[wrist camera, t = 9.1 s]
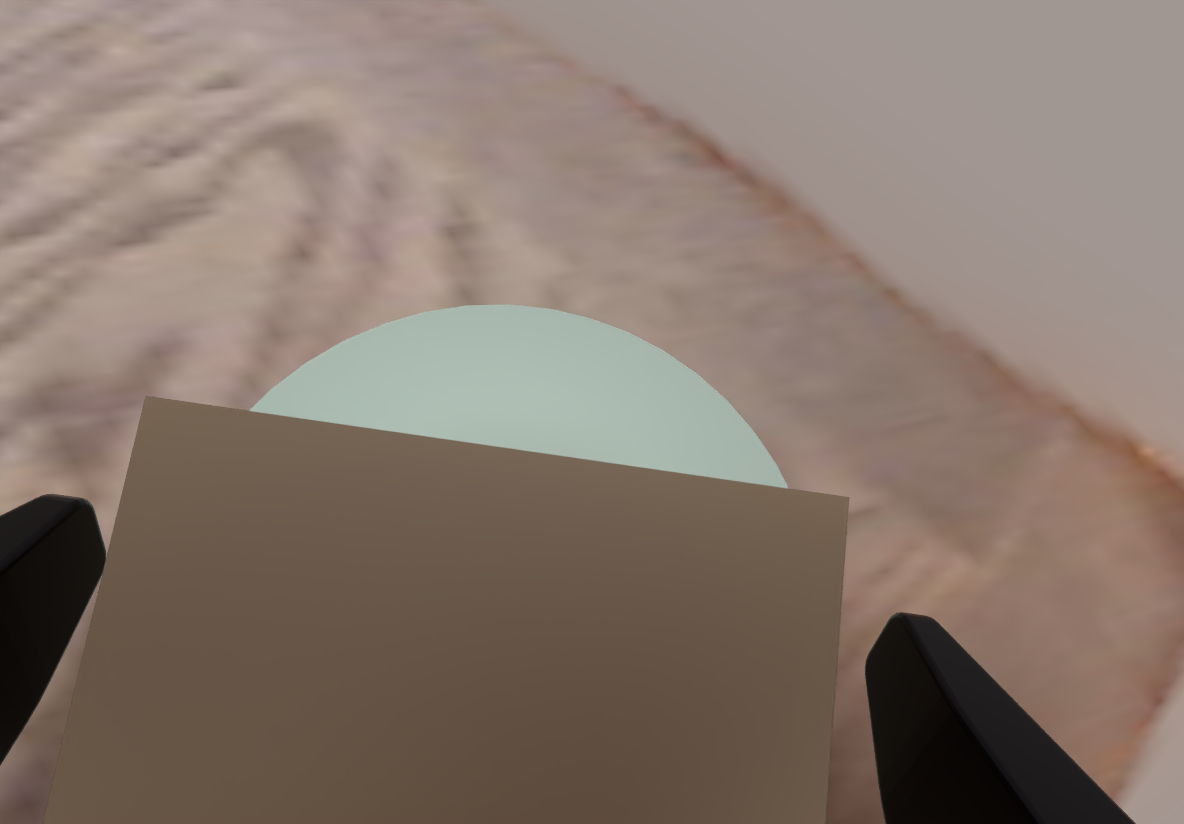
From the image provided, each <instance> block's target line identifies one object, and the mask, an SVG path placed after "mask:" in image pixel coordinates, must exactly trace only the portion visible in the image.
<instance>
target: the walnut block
mask: <svg viewBox="0 0 1184 824" xmlns="http://www.w3.org/2000/svg"><path fill="white" fill-rule="evenodd" d="M848 508H849V497H844V496H837V495H830V494H823V493H816V492H809V491H802V490H795V489H788V488H781V487H774V486H767V485H760V484H753V483H746V482H740V481H733V480H726V479H719V478H712V477H705V476H698V475H691V474H684V473H677V472H670V471H663V470H656V469H649V468H642V467H635V466H628V465H621V464H615V463H608V462H601V461H594V460H587V459H580V458H573V457H566V456H559V455H552V454H545V453H538V452H531V451H524V450H517V449H510V448H503V447H496V446H490V445H483V444H476V443H469V442H462V441H455V440H448V439H441V438H434V437H427V436H420V435H413V434H406V433H399V432H392V431H385V430H378V429H371V428H365V427H358V426H351V425H344V424H337V423H330V422H323V421H316V420H309V419H302V418H295V417H288V416H281V415H274V414H267V413H260V412H253V411H246V410H240V409H233V408H226V407H219V406H212V405H205V404H198V403H191V402H184V401H177V400H170V399H163V398H156V397H149V396H145V401H144V405H143V409H142V413H141V417H140V421H139V425H138V430H137V434H136V438H135V442H134V446H133V450H132V454H131V458H130V463H129V467H128V471H127V475H126V479H125V483H124V487H123V492H122V496H121V500H120V504H119V508H118V512H117V516H116V520H115V525H114V529H113V533H112V537H111V541H110V545H109V549H108V554H107V558H106V562H105V566H104V570H103V574H102V578H101V582H100V587H99V591H98V595H97V599H96V603H95V607H94V611H93V616H92V620H91V624H90V628H89V632H88V636H87V640H86V644H85V649H84V653H83V657H82V661H81V665H80V669H79V673H78V678H77V682H76V686H75V690H74V694H73V698H72V702H71V706H70V711H69V715H68V719H67V723H66V727H65V731H64V735H63V740H62V744H61V748H60V752H59V756H58V760H57V764H56V768H55V773H54V777H53V781H52V785H51V789H50V793H49V797H48V802H47V806H46V810H45V814H44V818H43V822H42V824H825V823H826V809H827V796H828V782H829V768H830V755H831V741H832V727H833V713H834V700H835V686H836V672H837V659H838V645H839V631H840V617H841V604H842V590H843V576H844V563H845V549H846V535H847V521H848Z"/></svg>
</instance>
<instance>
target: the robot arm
mask: <svg viewBox="0 0 1184 824" xmlns="http://www.w3.org/2000/svg"><path fill="white" fill-rule="evenodd" d="M105 562H106V549H105V546H104V542H103V539H102V535H101V532H100V528H99V525H98V521H97V518H96V514H95V511H94V508H93V505H92V504H91V503H90V502H89V501H88V500H86V499H83V498H78V497H71V496H64V495H56V494H46V495H43V496H40V497H38V498H35V499H33V500H31V501H29V502H27V503H25V504H23V505H21V506H19V507H17V508H15V509H13V510H11V511H9V512H7V513H5V514H3V515H1V516H0V765H1V764H2V762H3V760H4V759H5V757H6V756H7V754H8V752H9V751H10V749H11V748H12V746H13V744H14V743H15V741H16V740H17V738H18V736H19V735H20V733H21V732H22V730H23V728H24V727H25V725H26V724H27V722H28V720H29V718H30V717H31V715H32V713H33V712H34V710H35V708H36V707H37V705H38V703H39V701H40V700H41V698H42V696H43V694H44V692H45V690H46V688H47V686H48V684H49V682H50V680H51V678H52V676H53V674H54V672H55V670H56V668H57V666H58V664H59V662H60V660H61V658H62V656H63V654H64V652H65V650H66V648H67V646H68V644H69V641H70V639H71V637H72V635H73V633H74V631H75V629H76V627H77V625H78V623H79V621H80V619H81V617H82V615H83V613H84V611H85V609H86V607H87V605H88V602H89V600H90V598H91V596H92V594H93V592H94V590H95V588H96V586H97V584H98V582H99V580H100V578H101V576H102V573H103V570H104V566H105ZM865 678H866V686H867V694H868V702H869V711H870V719H871V727H872V735H873V743H874V751H875V759H876V767H877V775H878V783H879V789H880V796H881V803H882V808H883V812H884V817H885V822H886V824H1136V823H1135V822H1134V821H1133V820H1132V819H1131V818H1130V817H1129V816H1128V815H1127V814H1126V813H1125V812H1124V811H1123V810H1122V809H1121V808H1120V807H1119V806H1118V805H1117V804H1116V803H1115V802H1114V801H1113V800H1112V799H1111V798H1110V797H1109V796H1108V795H1107V794H1106V793H1105V792H1104V791H1103V790H1102V789H1101V788H1100V787H1099V786H1098V785H1097V784H1096V783H1095V782H1094V781H1093V780H1092V779H1091V778H1090V777H1089V776H1088V775H1087V774H1086V773H1085V772H1084V771H1083V770H1082V769H1081V768H1080V767H1079V766H1078V764H1077V763H1076V762H1075V761H1074V760H1073V759H1072V758H1071V757H1070V756H1069V755H1068V754H1067V753H1066V752H1065V751H1064V750H1063V749H1062V748H1061V747H1060V746H1059V745H1058V744H1057V743H1056V742H1055V741H1054V740H1053V739H1052V738H1051V737H1050V736H1049V735H1048V734H1047V733H1046V732H1045V731H1044V730H1043V729H1042V728H1041V727H1040V726H1039V725H1038V724H1037V723H1036V722H1035V721H1034V720H1033V719H1032V718H1031V717H1030V716H1029V715H1028V714H1027V713H1026V712H1025V711H1024V710H1023V709H1022V708H1021V707H1020V706H1019V705H1018V703H1017V702H1016V701H1015V700H1014V699H1013V698H1012V697H1011V696H1010V695H1009V694H1008V693H1007V692H1006V691H1005V690H1004V689H1003V688H1002V687H1001V686H1000V685H999V684H998V683H997V682H996V681H995V680H994V679H993V678H992V677H991V676H990V675H989V674H988V673H987V672H986V671H985V670H984V669H983V668H982V667H981V666H980V665H979V664H978V663H977V662H976V661H975V660H974V659H973V658H972V657H971V656H970V655H969V654H968V653H967V652H966V651H965V650H964V649H963V648H962V647H961V646H960V645H959V644H958V642H957V641H956V640H955V639H954V638H953V637H952V636H951V635H950V634H949V633H948V632H947V631H946V630H945V629H944V628H943V627H942V626H941V625H940V624H939V623H938V622H937V621H935V620H934V619H932V618H931V617H928V616H924V615H917V614H910V613H902V612H900V613H896V614H894V615H893V616H891V618H890V619H889V620H888V622H887V624H886V625H885V627H884V629H883V630H882V632H881V634H880V635H879V637H878V639H877V640H876V642H875V644H874V645H873V647H872V649H871V650H870V652H869V654H868V656H867V660H866V665H865Z"/></svg>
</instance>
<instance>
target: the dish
mask: <svg viewBox="0 0 1184 824" xmlns="http://www.w3.org/2000/svg"><path fill="white" fill-rule="evenodd" d="M249 411H253V412H260V413H267V414H274V415H281V416H288V417H295V418H302V419H309V420H316V421H323V422H330V423H337V424H344V425H351V426H358V427H365V428H371V429H378V430H385V431H392V432H399V433H406V434H413V435H420V436H427V437H434V438H441V439H448V440H455V441H462V442H469V443H476V444H483V445H490V446H496V447H503V448H510V449H517V450H524V451H531V452H538V453H545V454H552V455H559V456H566V457H573V458H580V459H587V460H594V461H601V462H608V463H615V464H621V465H628V466H635V467H642V468H649V469H656V470H663V471H670V472H677V473H684V474H691V475H698V476H705V477H712V478H719V479H726V480H733V481H740V482H746V483H753V484H760V485H767V486H774V487H781V488H788V486H787V484H786V482H785V480H784V478H783V476H782V474H781V472H780V470H779V468H778V467H777V465H776V463H775V462H774V460H773V459H772V457H771V456H770V454H769V453H768V451H767V450H766V448H765V447H764V446H763V444H762V443H761V441H760V440H759V438H758V437H757V435H756V434H755V432H754V431H753V430H752V429H751V427H750V426H749V425H748V424H747V423H746V422H745V421H744V419H743V418H742V417H741V416H740V415H739V414H738V413H737V411H736V410H735V409H734V408H733V407H732V406H731V405H730V403H729V402H728V401H727V400H726V399H725V398H724V397H723V396H721V395H720V394H719V393H718V392H717V391H716V390H715V389H714V388H712V387H711V386H710V385H709V384H708V383H707V382H706V381H705V380H703V379H702V378H701V377H700V376H699V375H698V374H697V373H695V372H694V371H692V370H691V369H690V368H688V367H687V366H685V365H684V364H682V363H681V362H679V361H678V360H676V359H675V358H674V357H672V356H671V355H669V354H668V353H666V352H665V351H663V350H662V349H660V348H658V347H656V346H654V345H652V344H650V343H648V342H646V341H644V340H642V339H640V338H638V337H636V336H634V335H632V334H631V333H629V332H627V331H624V330H621V329H618V328H616V327H613V326H610V325H607V324H605V323H602V322H599V321H596V320H594V319H591V318H588V317H584V316H579V315H575V314H570V313H566V312H562V311H557V310H553V309H548V308H538V307H528V306H518V305H470V306H461V307H454V308H448V309H441V310H434V311H428V312H423V313H420V314H416V315H412V316H409V317H405V318H402V319H398V320H395V321H391V322H388V323H384V324H382V325H379V326H377V327H375V328H372V329H370V330H368V331H365V332H363V333H361V334H358V335H356V336H353V337H351V338H349V339H346V340H344V341H342V342H341V343H339V344H337V345H336V346H334V347H332V348H330V349H329V350H327V351H325V352H323V353H322V354H320V355H318V356H316V357H315V358H313V359H311V360H310V361H308V362H306V363H305V364H304V365H302V366H301V367H300V368H298V369H297V370H296V371H294V372H293V373H292V374H290V375H289V376H288V377H286V378H285V379H284V380H282V381H281V382H280V383H278V384H277V385H276V386H275V387H273V388H272V389H271V390H270V391H269V392H268V393H267V394H266V395H265V396H264V397H263V398H262V399H260V400H259V401H258V402H257V403H256V404H255V405H254V406H253V407H252V408H251V409H250V410H249ZM788 489H789V488H788Z"/></svg>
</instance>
